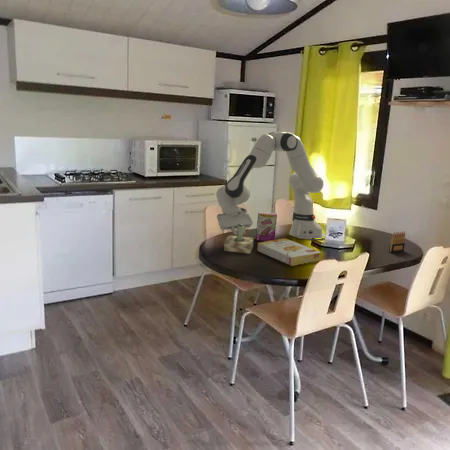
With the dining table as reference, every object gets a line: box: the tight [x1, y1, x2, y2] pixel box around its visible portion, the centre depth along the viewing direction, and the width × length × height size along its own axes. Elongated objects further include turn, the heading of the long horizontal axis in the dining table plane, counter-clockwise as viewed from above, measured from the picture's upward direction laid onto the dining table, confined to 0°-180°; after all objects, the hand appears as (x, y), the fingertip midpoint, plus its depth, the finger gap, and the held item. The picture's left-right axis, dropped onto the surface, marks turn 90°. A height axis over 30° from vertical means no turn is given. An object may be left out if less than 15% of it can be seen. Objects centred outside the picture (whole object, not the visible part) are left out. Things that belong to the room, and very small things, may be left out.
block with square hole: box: [223, 235, 255, 254], centre depth 243 cm, size 14×14×5 cm
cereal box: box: [257, 237, 322, 267], centre depth 235 cm, size 20×6×28 cm
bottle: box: [236, 224, 244, 241], centre depth 242 cm, size 4×4×12 cm
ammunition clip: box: [388, 230, 406, 254], centre depth 255 cm, size 11×2×12 cm, turn 120°
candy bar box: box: [255, 211, 278, 242], centre depth 261 cm, size 11×5×16 cm, turn 84°
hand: (240, 234), depth 241 cm, fingers closed on bottle, 3 cm apart
